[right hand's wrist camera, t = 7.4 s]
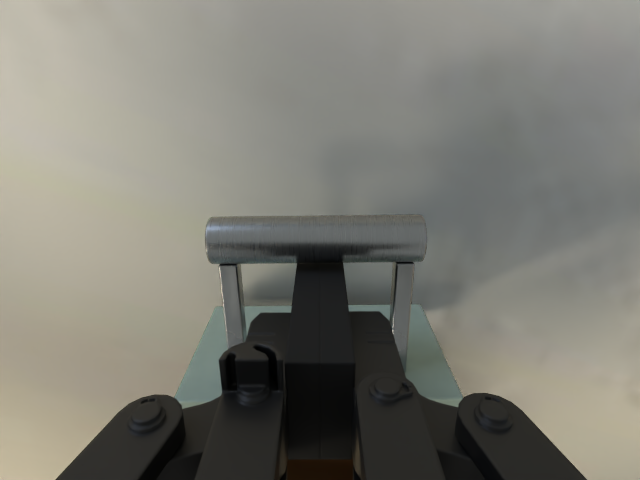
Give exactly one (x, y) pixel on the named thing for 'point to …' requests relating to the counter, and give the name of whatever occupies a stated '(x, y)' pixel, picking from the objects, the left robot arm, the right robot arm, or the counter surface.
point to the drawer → (234, 318)
